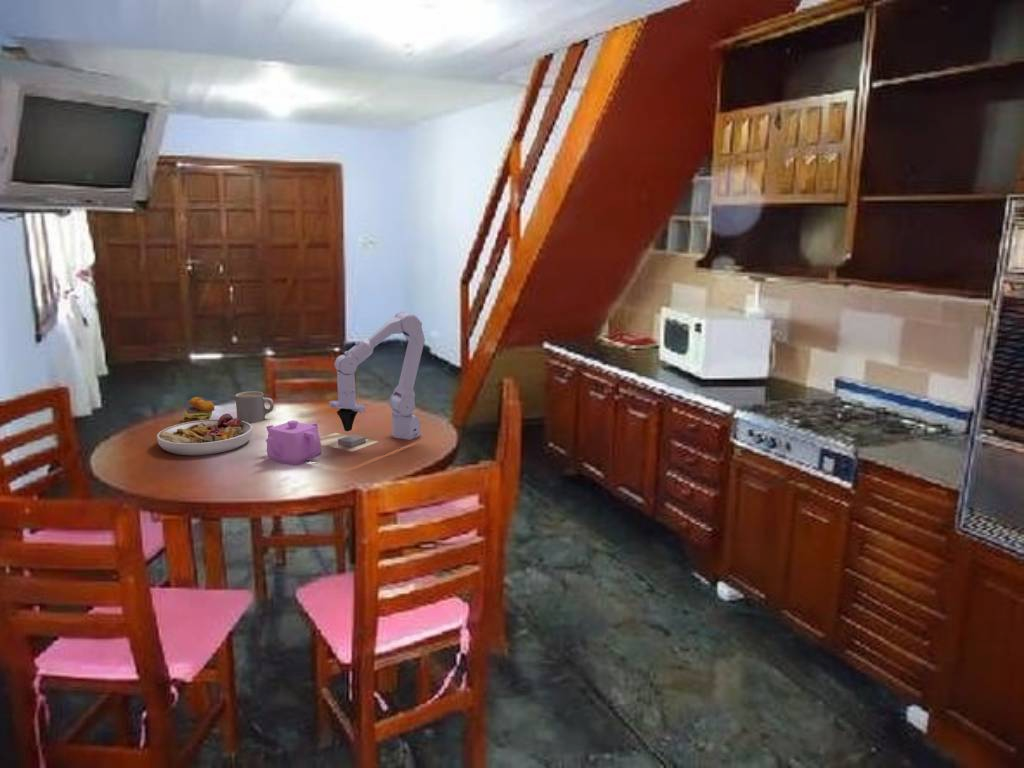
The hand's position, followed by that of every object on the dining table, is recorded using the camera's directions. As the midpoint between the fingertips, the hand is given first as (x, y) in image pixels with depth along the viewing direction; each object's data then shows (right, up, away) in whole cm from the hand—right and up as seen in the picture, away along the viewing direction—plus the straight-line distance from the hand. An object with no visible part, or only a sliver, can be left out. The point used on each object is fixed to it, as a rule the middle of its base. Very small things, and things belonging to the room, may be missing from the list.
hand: (348, 430), depth 251 cm
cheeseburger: (-64, +2, +32) cm, 71 cm away
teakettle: (-15, -8, -11) cm, 21 cm away
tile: (-1, -3, +1) cm, 4 cm away
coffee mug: (-43, +2, +33) cm, 54 cm away
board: (-2, -5, +2) cm, 6 cm away
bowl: (-49, -5, +3) cm, 49 cm away
